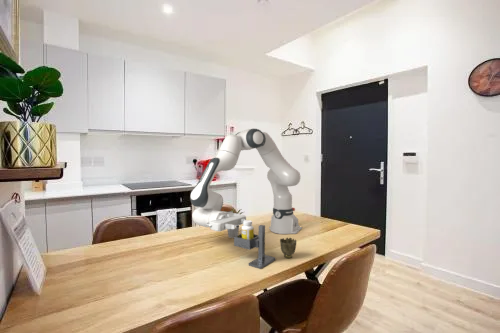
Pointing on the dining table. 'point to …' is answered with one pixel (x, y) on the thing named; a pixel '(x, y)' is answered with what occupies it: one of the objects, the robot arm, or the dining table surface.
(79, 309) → the dining table surface
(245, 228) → the supplement bottle
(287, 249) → the cup
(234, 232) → the house plant
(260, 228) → the cup bracket
